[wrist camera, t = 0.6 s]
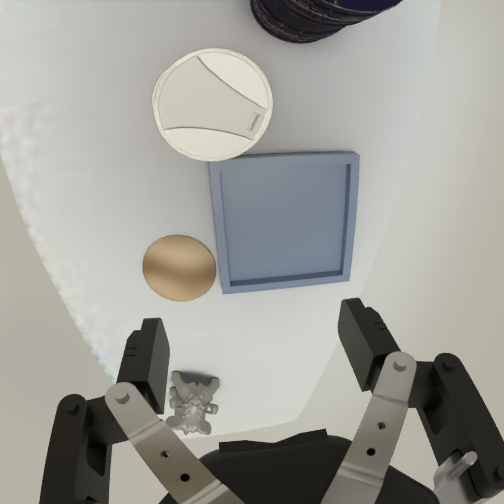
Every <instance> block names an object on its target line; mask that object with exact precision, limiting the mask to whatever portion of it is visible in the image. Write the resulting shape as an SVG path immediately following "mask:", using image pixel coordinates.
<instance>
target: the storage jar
mask: <svg viewBox="0 0 504 504" xmlns="http://www.w3.org/2000/svg"><path fill="white" fill-rule="evenodd" d="M402 1H403V0H250V4H251V9H252V13H253V15H254V17H255V19H256V21H257V22H258V23H259V25H260V26H261V27H262V28H263V29H264V30H265V31H267V32H268V33H269V34H271V35H272V36H274V37H276V38H278V39H280V40H283V41H286V42H291V43H300V44H302V43H311V42H315V41H318V40H320V39H323V38H326V37H329V36H331V35H333V34H335V33H336V32H338V31H340V30H341V29H342V28H344V27H345V26H348V25H353V24H356V23H360V22H362V21H364V20H367V19H369V18H371V17H374V16H376V15H377V14H379V13H381V12H383V11H386V10H388V9H390V8H392V7H394V6H396V5H398V4H399V3H400V2H402Z"/></svg>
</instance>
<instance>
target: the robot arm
mask: <svg viewBox="0 0 504 504" xmlns="http://www.w3.org/2000/svg"><path fill="white" fill-rule="evenodd" d="M338 334H339V338H340V340H341V343H342V345H343V347H344V349H345V352H346V354H347V356H348V359H349V361H350V364H351V366H352V368H353V371H354V373H355V375H356V378H357V381H358V383H359V385H360V388H361V390H362V392H364V391H368V390H371V392H372V397H371V399H370V402H369V404H368V407H367V410H366V412H365V414H364V417H363V419H362V421H361V423H360V426H359V428H358V430H357V432H356V435H355V437H354V439H353V441H351V440H349V439H346V438H343V437H339V436H332V435H327V432H326V429H322V430H315V431H310V432H305V433H300V434H297V435H294V436H292V437H289V438H287V439H284V440H281V441H279V442H276V443H266V442H256V441H248V440H243V441H230V442H219V449H217V450H214V451H212V452H210V453H208V454H206V455H204V456H202V457H201V458H199V459H197V458H196V457H195V456H194V455H193V453H192V452H191V451H190V450H189V449H188V448H187V447H186V446H185V445H184V443H183V442H182V441H181V440H180V439H179V438H178V437H177V435H176V434H175V433H174V432H173V431H172V430H171V428H170V427H169V426H168V425H167V424H166V423H165V421H164V420H162V419H160V418H159V417H158V416H157V414H164V405H165V394H166V384H167V375H168V366H169V357H170V348H169V342H168V339H167V336H166V332H165V329H164V326H163V322H162V319H161V318H145V319H144V320H143V323H142V327H141V330H134V331H133V332H132V334H131V335H130V336H129V337H128V339H127V342H126V346H125V350H124V354H123V358H122V362H121V366H120V370H119V374H118V378H117V382H116V384H115V385H113V386H111V387H110V388H109V389H108V391H107V393H106V395H105V396H102V397H99V398H95V399H91V400H87V401H86V400H85V398H84V397H82V396H81V395H79V394H71V395H68V396H66V397H64V398H63V399H62V400H61V401H60V403H59V405H58V407H57V411H56V415H55V420H54V424H53V428H52V433H51V437H50V442H49V447H48V452H47V457H46V463H45V468H44V474H43V480H42V487H41V494H40V501H39V504H108V503H109V481H110V466H111V454H112V444H115V443H119V442H123V441H127V440H130V442H131V443H132V445H133V446H134V448H135V449H136V450H137V452H138V453H139V455H140V456H141V457H142V459H143V460H144V461H145V463H146V464H147V466H148V467H149V468H150V469H151V471H152V472H153V473H154V475H155V476H156V477H157V478H158V480H159V481H160V482H161V483H162V484H163V486H164V487H165V488H166V490H167V491H168V494H167V495H166V496H165V497H164V498H163V499H162V500H161V501H160V503H159V504H483V503H484V502H486V501H488V500H489V499H491V498H492V497H494V496H495V495H497V494H498V493H500V492H501V491H503V490H504V441H503V439H502V437H501V435H500V432H499V430H498V428H497V427H496V424H495V422H494V421H493V418H492V417H491V414H490V413H489V411H488V409H487V407H486V405H485V403H484V401H483V399H482V397H481V396H480V394H479V392H478V390H477V388H476V387H475V385H474V383H473V381H472V379H471V378H470V376H469V374H468V373H467V371H466V369H465V367H464V366H463V364H462V362H461V361H460V359H459V358H458V357H456V356H455V355H453V354H450V353H442V354H439V355H438V356H436V358H435V360H434V362H423V361H415V359H414V358H413V357H412V356H411V355H409V354H408V353H405V352H401V350H400V349H399V347H398V345H397V343H396V342H395V340H394V338H393V337H392V335H391V333H390V332H389V330H388V329H387V326H386V325H385V323H383V320H382V318H381V316H380V315H379V313H378V312H376V311H375V310H373V309H372V308H371V307H367V308H365V307H364V305H363V303H362V302H361V300H360V298H351V299H344V300H342V302H341V308H340V314H339V321H338ZM408 408H416V409H417V411H418V414H419V416H420V419H421V421H422V424H423V426H424V428H425V431H426V434H427V436H428V439H429V442H430V444H431V447H432V449H433V452H434V455H435V458H436V460H437V463H438V466H439V467H438V468H437V470H436V471H435V474H434V491H432V490H430V489H429V488H428V487H426V486H424V485H422V484H421V483H419V482H417V481H416V480H414V479H412V478H411V477H409V476H407V475H405V474H404V473H402V472H400V471H399V470H397V469H395V468H394V467H392V466H390V465H389V463H390V461H391V458H392V455H393V453H394V450H395V447H396V444H397V441H398V438H399V435H400V432H401V429H402V426H403V423H404V420H405V417H406V413H407V410H408Z"/></svg>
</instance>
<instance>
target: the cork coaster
mask: <svg viewBox="0 0 504 504" xmlns="http://www.w3.org/2000/svg"><path fill="white" fill-rule="evenodd" d="M143 275H144V278H145V280H146V282H147V284H148V285H149V286H150V288H151V289H152V290H153V291H154V292H156V293H157V294H158V295H160V296H162V297H164V298H166V299H169V300H173V301H190V300H194V299H197V298H199V297H201V296H202V295H204V294H205V293H206V292H207V291H208V290H209V289H210V288H211V286H212V285H213V283H214V280H215V276H216V265H215V260H214V258H213V256H212V254H211V252H210V251H209V250H208V248H207V247H206V246H205V245H203V244H202V243H201V242H199V241H198V240H195V239H193V238H191V237H187V236H181V235H173V236H167V237H164V238H162V239H159V240H158V241H156V242H155V243H154V244H152V245H151V247H150V248H149V249H148V251H147V252H146V254H145V257H144V260H143Z"/></svg>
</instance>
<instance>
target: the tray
mask: <svg viewBox="0 0 504 504" xmlns="http://www.w3.org/2000/svg"><path fill="white" fill-rule="evenodd" d="M359 158H360V155H359V154H357V153H355V152H300V153H275V154H257V155H242V156H236V157H233V158H230V159H227V160H222V161H209V171H210V182H211V192H212V202H213V213H214V222H215V232H216V241H217V250H218V259H219V268H220V277H221V285H222V294H233V293H243V292H254V291H264V290H274V289H283V288H293V287H302V286H311V285H320V284H328V283H336V282H345V281H349V279H350V271H351V262H352V253H353V244H354V233H355V222H356V210H357V196H358V180H359Z"/></svg>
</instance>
